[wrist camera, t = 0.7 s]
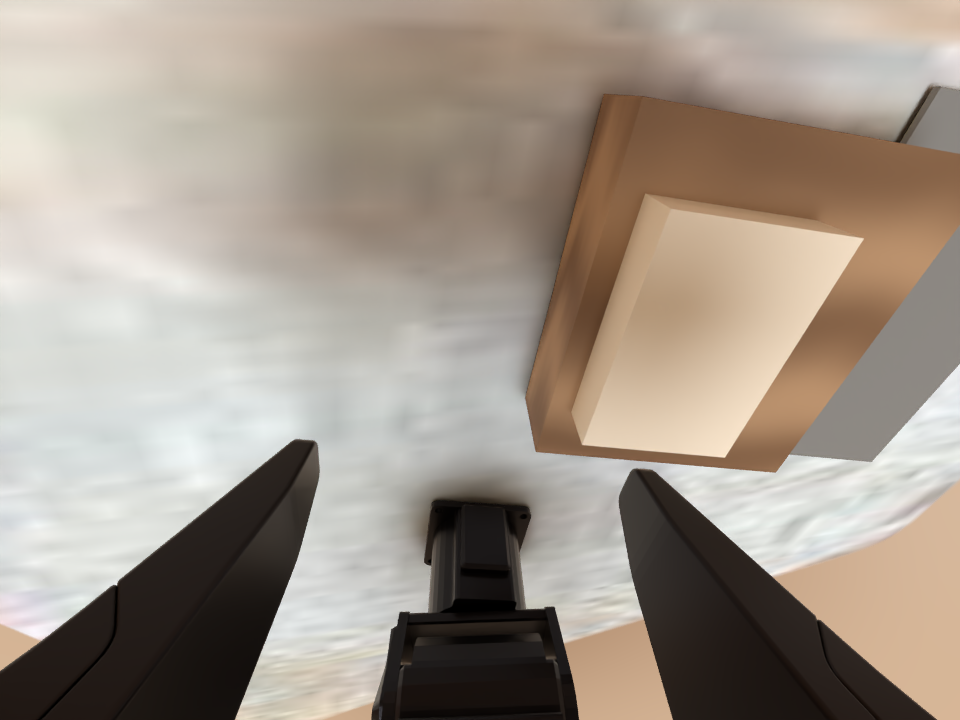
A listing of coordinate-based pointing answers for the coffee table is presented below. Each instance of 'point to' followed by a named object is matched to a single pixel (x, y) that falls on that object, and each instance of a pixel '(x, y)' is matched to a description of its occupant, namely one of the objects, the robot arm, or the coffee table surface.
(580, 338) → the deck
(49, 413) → the coffee table surface
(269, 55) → the coffee table surface
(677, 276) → the cream rectangular block
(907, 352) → the mat
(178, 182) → the coffee table surface
